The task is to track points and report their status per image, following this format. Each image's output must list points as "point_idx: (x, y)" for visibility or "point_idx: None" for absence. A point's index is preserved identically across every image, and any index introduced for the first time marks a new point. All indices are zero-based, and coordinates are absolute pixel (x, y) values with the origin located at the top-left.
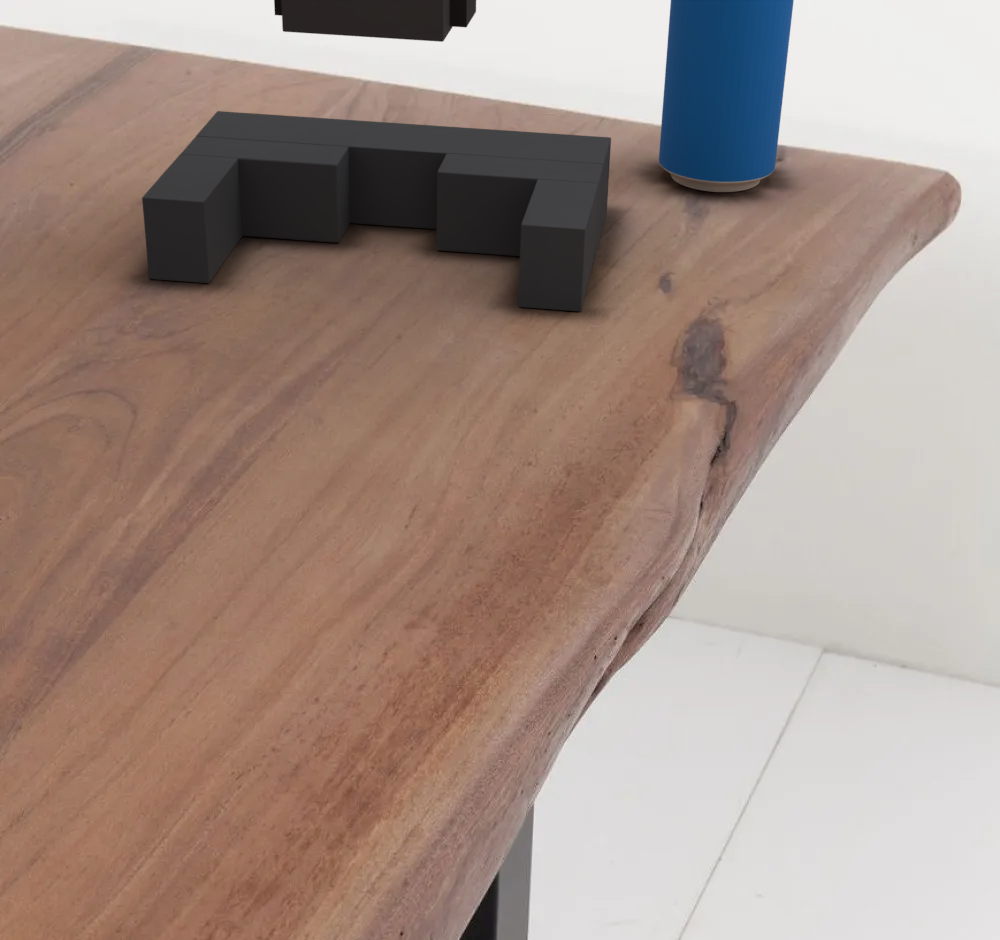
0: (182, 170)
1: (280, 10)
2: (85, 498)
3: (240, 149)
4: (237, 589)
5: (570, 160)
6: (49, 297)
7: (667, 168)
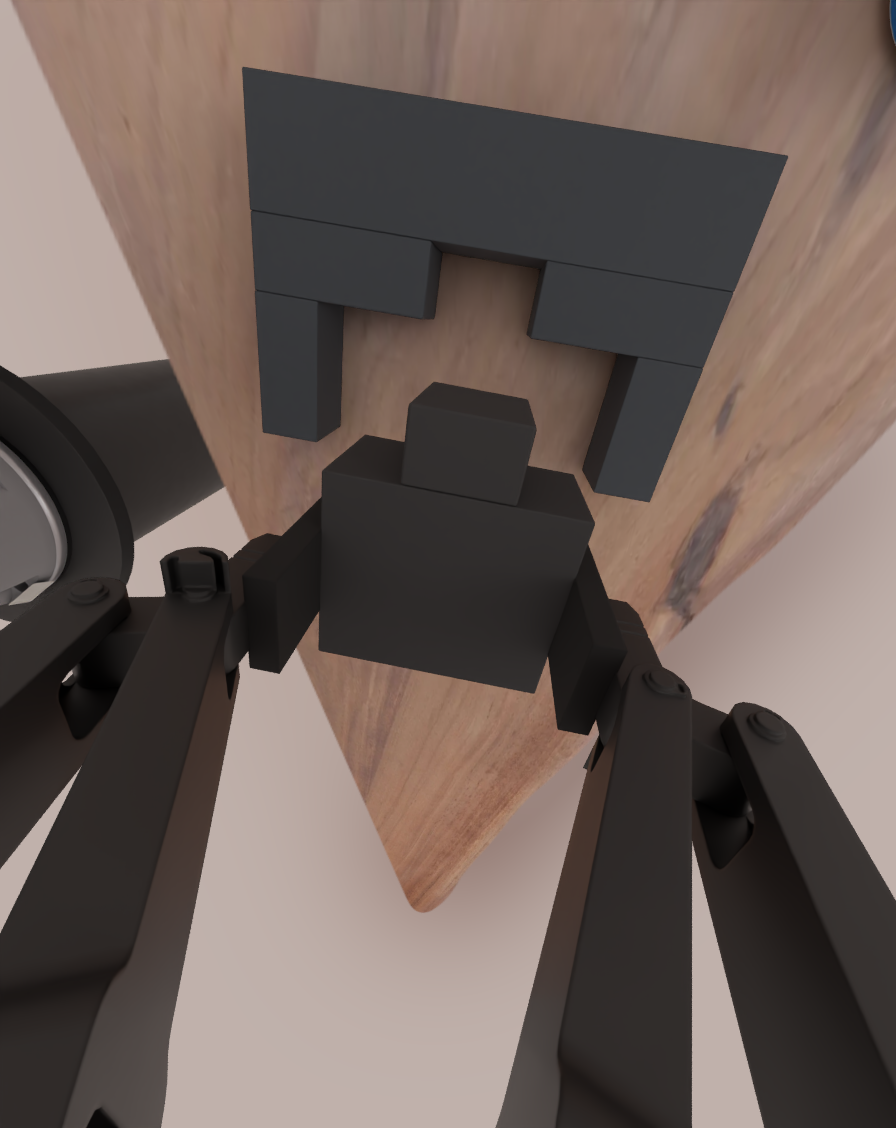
0: (274, 351)
1: None
2: (344, 689)
3: (312, 266)
4: (421, 748)
5: (695, 282)
6: (235, 454)
7: (892, 13)
